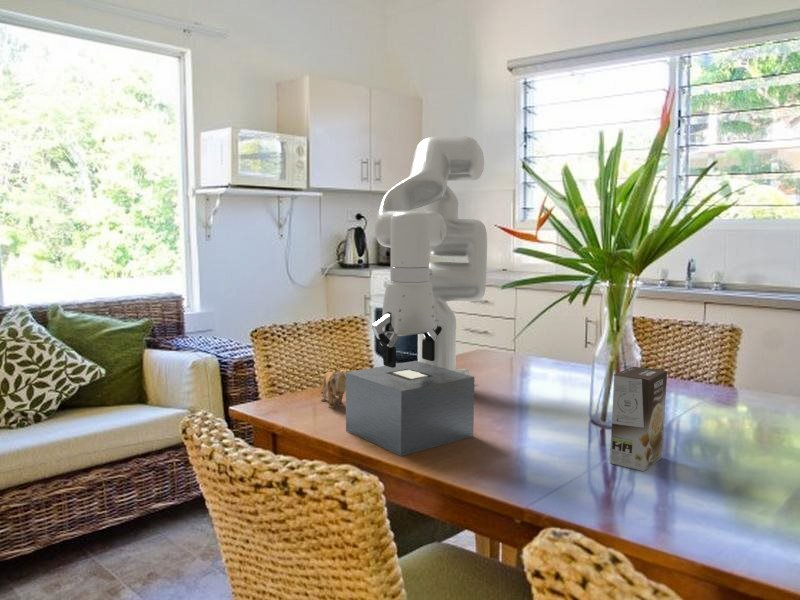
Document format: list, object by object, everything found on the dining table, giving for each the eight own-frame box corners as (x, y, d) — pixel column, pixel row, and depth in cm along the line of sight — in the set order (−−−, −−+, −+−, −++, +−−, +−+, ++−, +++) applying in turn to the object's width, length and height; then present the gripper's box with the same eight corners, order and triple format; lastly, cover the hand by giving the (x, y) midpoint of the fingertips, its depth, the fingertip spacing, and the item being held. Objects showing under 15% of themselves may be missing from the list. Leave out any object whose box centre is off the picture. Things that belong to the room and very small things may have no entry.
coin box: (415, 414, 146) (415, 360, 145) (473, 436, 132) (474, 376, 130) (346, 430, 135) (345, 372, 134) (401, 456, 121) (401, 391, 119)
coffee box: (645, 472, 114) (650, 380, 112) (608, 463, 118) (612, 374, 116) (663, 457, 121) (668, 370, 119) (628, 449, 125) (632, 365, 123)
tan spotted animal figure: (356, 409, 150) (356, 370, 149) (334, 412, 147) (334, 372, 146) (331, 394, 163) (331, 357, 162) (310, 396, 160) (310, 359, 159)
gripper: (431, 272, 138) (430, 354, 140) (361, 277, 127) (362, 365, 129) (456, 275, 132) (454, 360, 134) (385, 280, 121) (385, 372, 124)
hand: (409, 363), depth 132 cm, fingers open, 9 cm apart
